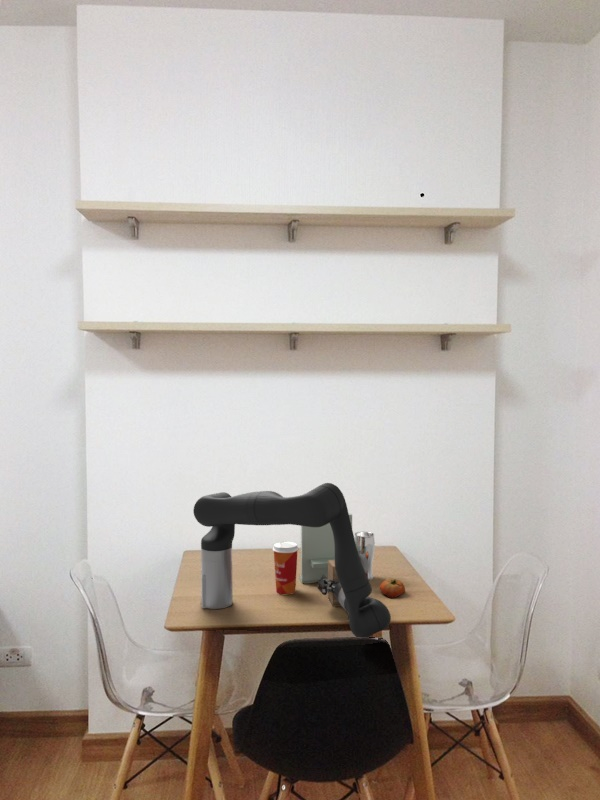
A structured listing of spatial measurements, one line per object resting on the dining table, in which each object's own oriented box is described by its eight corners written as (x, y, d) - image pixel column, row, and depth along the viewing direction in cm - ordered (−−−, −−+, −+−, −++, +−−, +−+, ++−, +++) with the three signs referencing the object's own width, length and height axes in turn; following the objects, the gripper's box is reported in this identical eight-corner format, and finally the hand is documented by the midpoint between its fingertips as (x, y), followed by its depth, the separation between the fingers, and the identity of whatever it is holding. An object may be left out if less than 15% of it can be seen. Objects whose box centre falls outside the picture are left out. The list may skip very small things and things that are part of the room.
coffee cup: (269, 588, 202) (269, 542, 201) (293, 585, 205) (293, 540, 204) (277, 597, 194) (277, 549, 193) (302, 594, 197) (302, 546, 196)
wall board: (305, 589, 201) (305, 521, 200) (299, 578, 212) (299, 513, 210) (356, 585, 205) (356, 518, 204) (348, 575, 215) (348, 511, 214)
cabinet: (333, 607, 186) (333, 567, 185) (327, 599, 193) (327, 560, 192) (350, 606, 187) (350, 566, 186) (343, 597, 194) (343, 559, 193)
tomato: (378, 594, 193) (381, 571, 197) (376, 602, 198) (380, 580, 203) (404, 599, 192) (407, 577, 196) (402, 607, 197) (405, 585, 202)
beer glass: (350, 579, 210) (350, 535, 209) (357, 573, 217) (358, 530, 216) (370, 582, 207) (370, 537, 207) (377, 576, 214) (377, 532, 213)
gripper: (376, 581, 177) (359, 563, 193) (326, 585, 174) (314, 566, 190) (376, 607, 177) (359, 587, 193) (326, 611, 175) (314, 591, 191)
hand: (337, 577), depth 192 cm, fingers open, 8 cm apart
